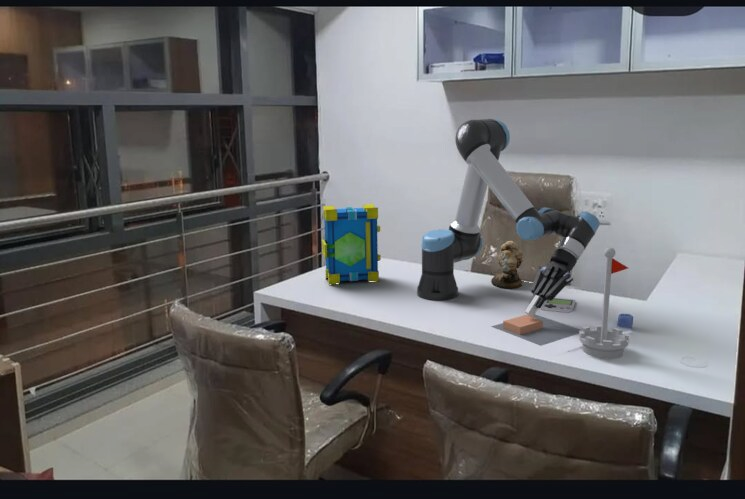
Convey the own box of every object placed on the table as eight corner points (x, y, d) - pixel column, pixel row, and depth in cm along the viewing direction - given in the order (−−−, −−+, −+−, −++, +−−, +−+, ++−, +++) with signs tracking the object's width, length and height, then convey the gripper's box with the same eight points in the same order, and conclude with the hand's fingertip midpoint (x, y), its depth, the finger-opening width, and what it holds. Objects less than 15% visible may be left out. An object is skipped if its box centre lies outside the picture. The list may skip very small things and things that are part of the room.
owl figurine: (489, 277, 255) (490, 235, 252) (518, 277, 254) (520, 236, 251) (493, 289, 238) (495, 245, 234) (525, 289, 237) (527, 245, 233)
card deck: (525, 322, 199) (502, 328, 194) (525, 314, 199) (503, 321, 193) (542, 328, 194) (519, 334, 188) (542, 320, 193) (520, 327, 188)
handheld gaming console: (540, 308, 211) (546, 296, 225) (540, 312, 211) (546, 300, 225) (571, 311, 207) (575, 299, 221) (571, 316, 208) (575, 303, 221)
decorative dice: (630, 330, 192) (631, 318, 192) (616, 328, 194) (617, 316, 194) (632, 326, 196) (633, 314, 195) (619, 324, 198) (619, 312, 197)
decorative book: (322, 277, 257) (320, 205, 251) (377, 274, 261) (376, 203, 255) (326, 287, 244) (323, 211, 237) (384, 283, 248) (383, 208, 241)
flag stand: (572, 354, 175) (578, 249, 168) (585, 339, 185) (592, 240, 179) (621, 363, 168) (630, 255, 161) (632, 348, 178) (640, 245, 172)
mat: (490, 328, 196) (490, 326, 196) (534, 315, 207) (534, 314, 207) (540, 347, 180) (540, 345, 180) (585, 333, 191) (585, 331, 191)
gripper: (588, 265, 196) (550, 326, 191) (555, 257, 207) (518, 315, 202) (578, 251, 192) (539, 313, 187) (545, 244, 203) (507, 302, 198)
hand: (528, 314), depth 194 cm, fingers closed
